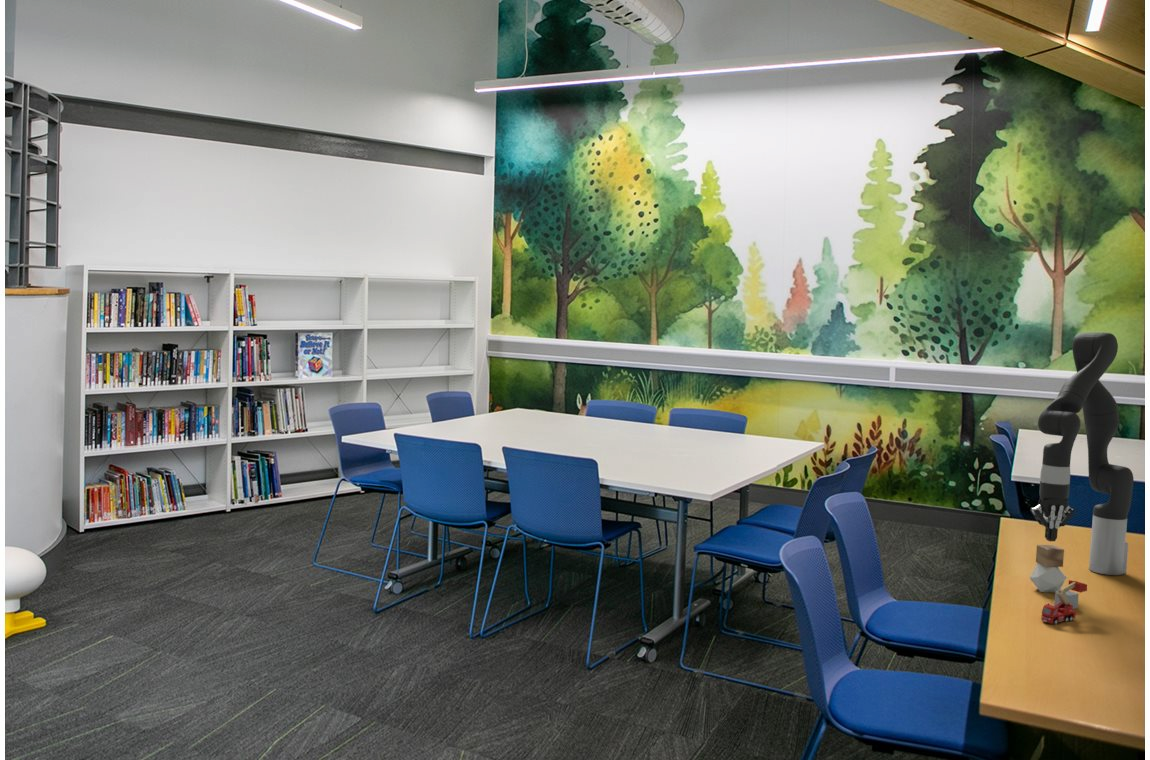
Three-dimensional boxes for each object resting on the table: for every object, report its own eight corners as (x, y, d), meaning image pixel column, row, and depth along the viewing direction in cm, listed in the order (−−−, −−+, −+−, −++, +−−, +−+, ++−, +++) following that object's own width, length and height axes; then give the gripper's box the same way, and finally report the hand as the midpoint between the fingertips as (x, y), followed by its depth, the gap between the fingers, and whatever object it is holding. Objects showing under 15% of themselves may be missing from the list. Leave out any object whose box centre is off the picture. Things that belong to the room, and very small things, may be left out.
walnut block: (1051, 561, 272) (1053, 544, 271) (1062, 566, 267) (1064, 549, 266) (1035, 561, 271) (1036, 544, 271) (1046, 566, 266) (1047, 549, 266)
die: (1061, 599, 263) (1076, 570, 266) (1034, 582, 264) (1048, 553, 267) (1047, 601, 271) (1061, 572, 273) (1020, 584, 272) (1034, 556, 275)
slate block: (1064, 603, 258) (1065, 589, 258) (1077, 608, 254) (1078, 593, 254) (1054, 605, 256) (1055, 591, 256) (1068, 610, 252) (1069, 595, 252)
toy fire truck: (1039, 621, 243) (1041, 585, 242) (1073, 614, 249) (1076, 578, 248) (1051, 625, 240) (1053, 588, 239) (1085, 618, 246) (1088, 582, 245)
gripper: (1068, 478, 271) (1063, 537, 273) (1025, 478, 270) (1021, 537, 271) (1085, 483, 264) (1080, 544, 265) (1041, 483, 262) (1037, 544, 264)
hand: (1050, 540), depth 268 cm, fingers closed
